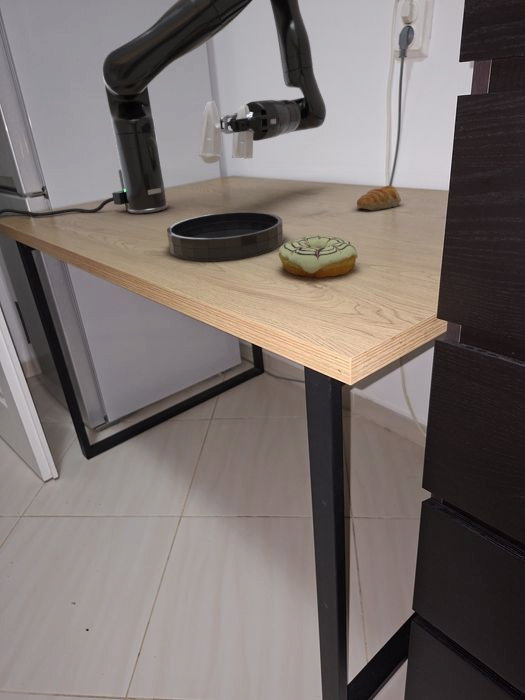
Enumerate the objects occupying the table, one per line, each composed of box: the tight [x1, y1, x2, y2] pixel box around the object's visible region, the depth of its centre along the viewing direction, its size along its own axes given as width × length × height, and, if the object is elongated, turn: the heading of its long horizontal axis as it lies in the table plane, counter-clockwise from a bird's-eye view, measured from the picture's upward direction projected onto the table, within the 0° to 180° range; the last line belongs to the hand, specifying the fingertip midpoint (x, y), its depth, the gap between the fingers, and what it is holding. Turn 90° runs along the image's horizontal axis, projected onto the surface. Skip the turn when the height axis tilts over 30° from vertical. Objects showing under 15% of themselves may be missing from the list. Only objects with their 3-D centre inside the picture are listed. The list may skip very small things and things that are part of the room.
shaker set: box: [198, 100, 254, 164], centre depth 97 cm, size 12×4×11 cm, turn 112°
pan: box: [166, 211, 284, 262], centre depth 85 cm, size 19×19×4 cm
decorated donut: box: [278, 235, 359, 279], centre depth 69 cm, size 10×11×4 cm
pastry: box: [356, 185, 402, 212], centre depth 103 cm, size 9×7×4 cm
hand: (218, 127), depth 95 cm, fingers closed on shaker set, 7 cm apart
